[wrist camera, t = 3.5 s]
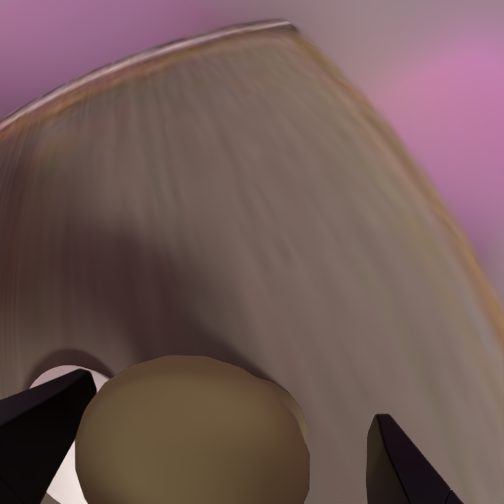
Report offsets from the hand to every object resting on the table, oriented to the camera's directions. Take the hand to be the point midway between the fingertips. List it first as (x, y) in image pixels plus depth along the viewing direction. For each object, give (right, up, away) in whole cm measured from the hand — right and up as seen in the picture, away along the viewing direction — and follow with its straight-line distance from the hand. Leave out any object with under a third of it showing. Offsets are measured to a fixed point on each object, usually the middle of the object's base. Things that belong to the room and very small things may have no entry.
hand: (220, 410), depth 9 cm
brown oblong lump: (+1, -4, +6) cm, 7 cm away
